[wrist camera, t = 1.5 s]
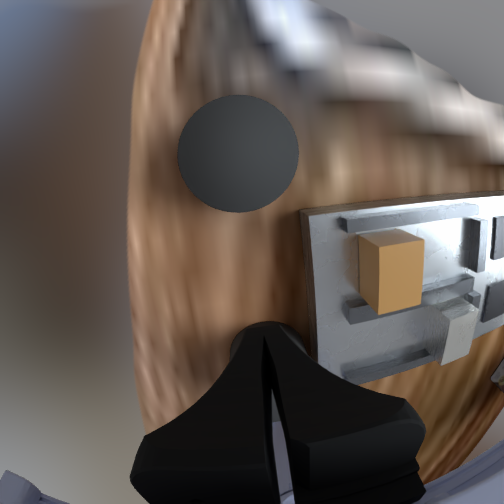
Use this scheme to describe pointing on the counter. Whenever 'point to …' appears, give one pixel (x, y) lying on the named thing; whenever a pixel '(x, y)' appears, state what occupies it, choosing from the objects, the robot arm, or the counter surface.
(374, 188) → the counter surface
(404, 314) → the power strip
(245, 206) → the pair of grey cylinders
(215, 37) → the counter surface
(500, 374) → the coffee box
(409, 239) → the toggle
